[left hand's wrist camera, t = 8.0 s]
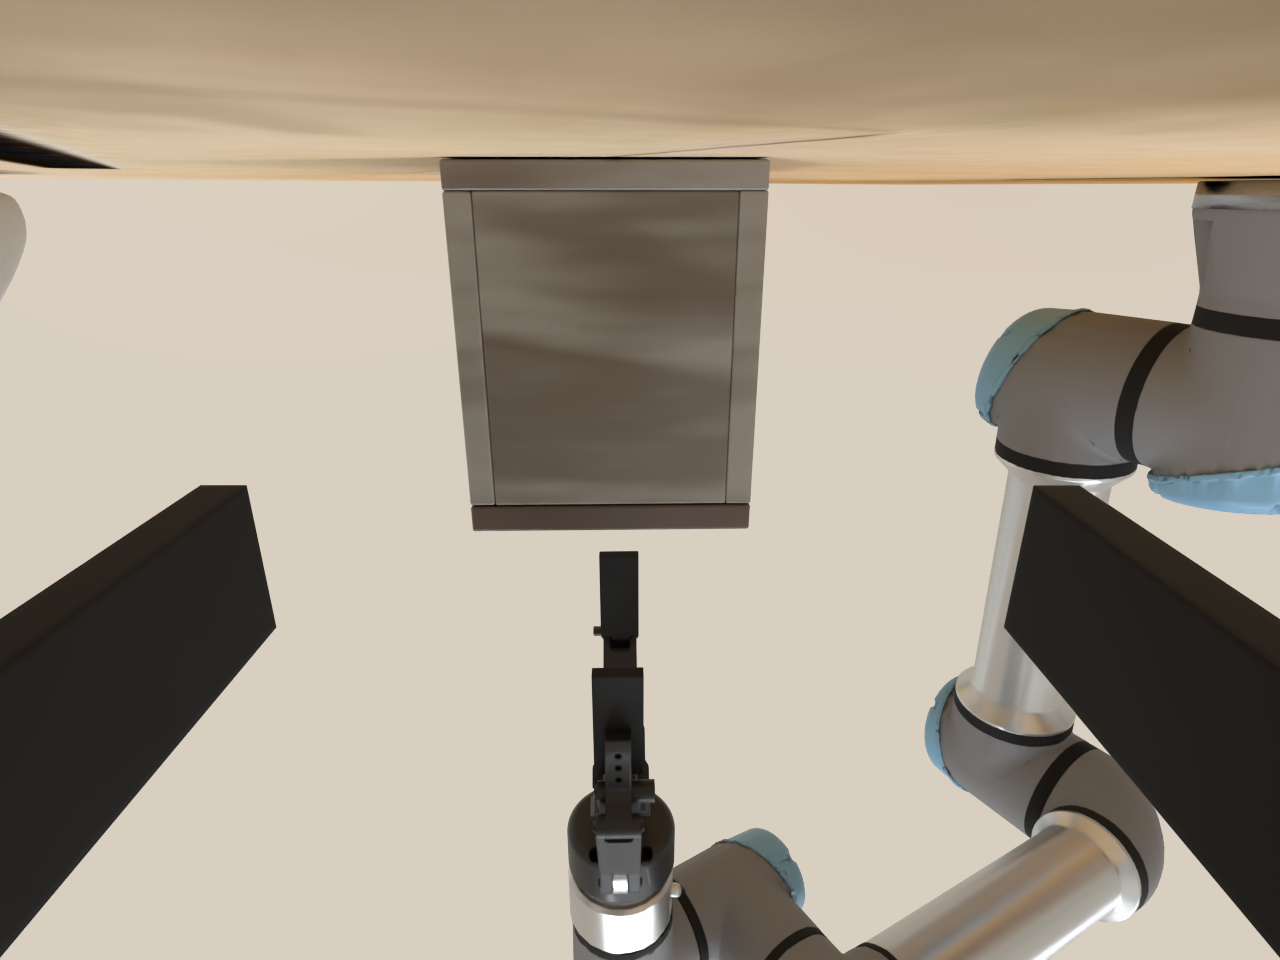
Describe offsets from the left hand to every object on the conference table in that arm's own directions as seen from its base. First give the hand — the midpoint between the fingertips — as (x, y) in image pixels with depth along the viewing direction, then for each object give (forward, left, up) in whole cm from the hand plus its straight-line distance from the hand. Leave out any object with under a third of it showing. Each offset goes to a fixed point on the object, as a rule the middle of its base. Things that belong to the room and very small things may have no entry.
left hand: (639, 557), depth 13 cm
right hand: (+25, -12, +18) cm, 33 cm away
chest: (+18, -9, -7) cm, 22 cm away
